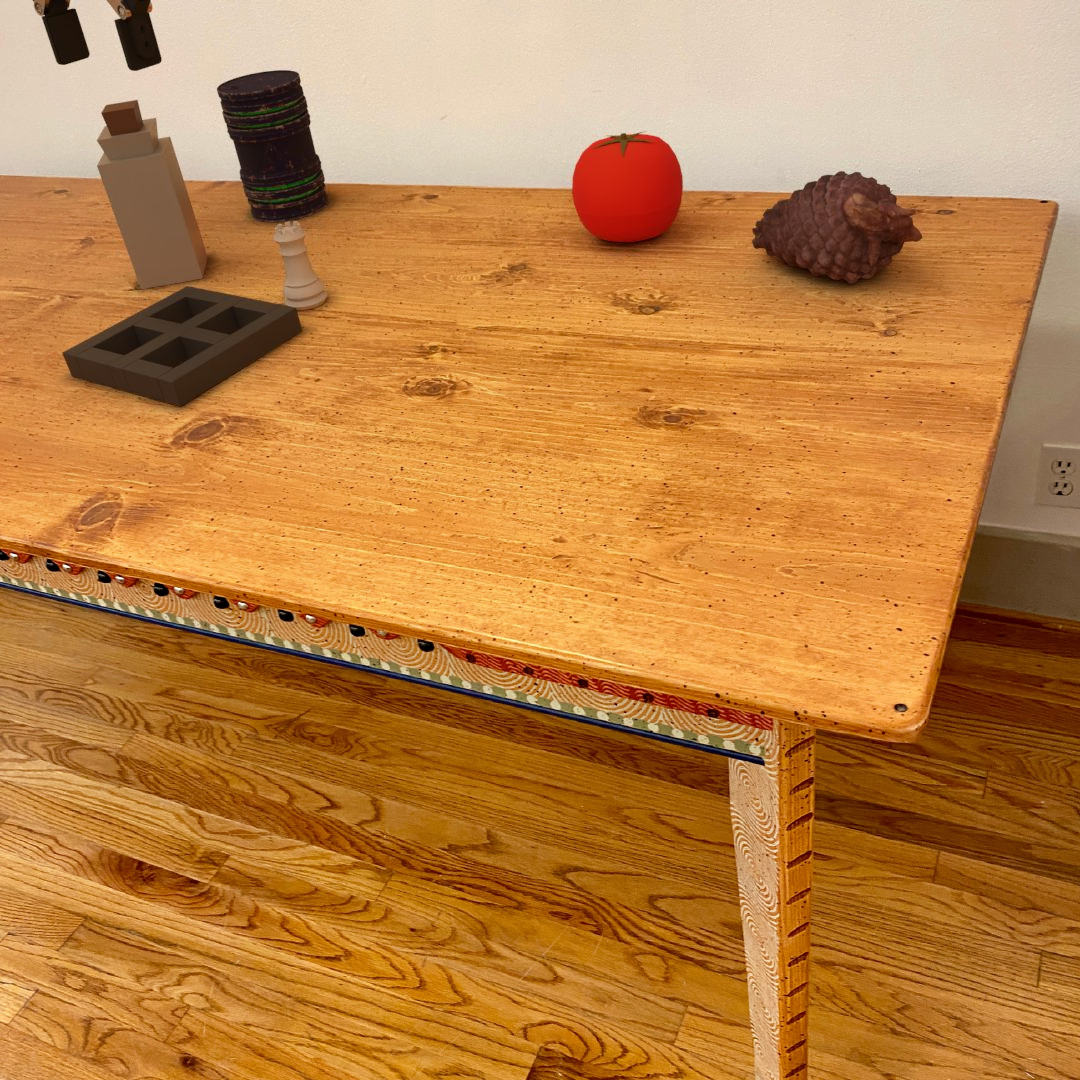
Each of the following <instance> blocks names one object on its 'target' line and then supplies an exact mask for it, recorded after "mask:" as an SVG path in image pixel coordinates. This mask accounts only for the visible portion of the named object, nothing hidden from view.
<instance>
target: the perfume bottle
mask: <svg viewBox="0 0 1080 1080" xmlns="http://www.w3.org/2000/svg"><path fill="white" fill-rule="evenodd" d="M100 114H101V116H102V118H103V121H104V123H105V126H104V127H103V129H102V131H101V132H100V134H99V136H98V137H97V139H96V142H97V143H98V145H99V146H100V148H101V149H102V152H103V154H102V156H101V157H100V159H99V161H98V163H97V165H96V168H97V171H98V172H99V176H100V179H101V181H102V184H103V187H104V190H105V193H106V194H107V198H108V201H109V204H110V207H111V209H112V212H113V215H114V217H115V220H116V223H117V226H118V229H119V232H120V234H121V237H122V239H123V244H124V245H125V248H126V251H127V255H128V257H129V260H130V263H131V265H132V268H133V271H134V274H135V276H136V280H137V282H138V285H139V287H140V290H147V289H151V288H152V289H153V288H157V287H163V286H168V285H173V284H174V285H175V284H180V283H185V282H190V281H195V280H201V279H204V275H205V270H206V266H207V260H208V253H207V251H206V246H205V243H204V240H203V237H202V234H201V230H200V228H199V224H198V221H197V218H196V215H195V211H194V208H193V205H192V201H191V199H190V196H189V193H188V189H187V187H186V182H185V180H184V177H183V174H182V170H181V167H180V165H179V161H178V157H177V154H176V151H175V147H174V144H173V142H172V138H171V136H164V137H159V133H158V122H157V117H153V118H146V119H143V116H142V112H141V109H140V104H139V100H138V99H134V100H128V101H121V102H117V103H116V102H115V103H110V104H105V106H104V108H103V109H102V111H101V112H100Z"/></svg>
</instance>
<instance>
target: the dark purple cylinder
mask: <svg viewBox="0 0 1080 1080" xmlns="http://www.w3.org/2000/svg"><path fill="white" fill-rule="evenodd" d="M301 82H302V81H301V77H300V73H299V72H297V71H295V70H287V69H278V70H276V69H275V70H268V71H260V72H254V73H249V74H245V75H241V76H238V77H234V78H232V79H229V80H227V81H224V82H222V83H220V84H219V85H218V86H217V87H216V92H217V95H218V97H219V99H220V106H221V109H222V116H223V117H222V118H223V120H224V123H225V124H226V129H227V131H226V132H227V134H228V137H229V138H230V140H232V141H233V145H234V149H235V152H236V157H237V160H238V163H239V166H240V169H239V179H240V180H241V183H242V188H243V192H244V195H245V197H246V198H247V202H248V205H249V206H250V213H251V216H252V219H254V220H256V221H259V222H264V223H281V222H289V221H295V220H299V219H302V218H305V217H309V216H311V215H314V214H316V213H318V212H320V211H322V210H324V209H325V208H326V207H327V206H328V205H329V202H330V199H329V196H328V193H327V192H326V189H327V188H326V184H325V181H326V178H325V174H324V170H323V168H322V161H321V158H320V156H319V154H317V153H316V150H315V149H316V148H315V144H314V140H313V136H312V132H311V127H310V125H311V123H312V122H311V115H310V113H309V109H308V107H309V106H308V101H307V97H306V96H305V95H304V93H305V92H304V88H303V86H302V85H301Z"/></svg>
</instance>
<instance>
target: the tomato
mask: <svg viewBox="0 0 1080 1080" xmlns="http://www.w3.org/2000/svg"><path fill="white" fill-rule="evenodd" d="M645 132H646V133H647V130H644V131H641V132H635V133H630V134H628V133H626V132H621V133H620V134H617V135H610V136H607V137H604V138H601V139H598V140H596V141H593V142H591V144H589V146H588V147H587V148H585V149H584V150H583V151H582V153H581V154H580V155H579V158H578V159H577V162H576V164H575V166H574V170H573V174H572V182H571V183H572V184H571V185H572V186H571V196H572V200H573V205H574V208H575V211H576V214H577V216H578V218H579V220H580V222H581V223H582V224H583V226H584V227H585V229H586V230H587V231H588V232H589V233H590V234H591V235H593V237H596V238H597V239H601V240H603V241H608V242H615V243H634V242H641V241H646V240H650V239H652V238H656V237H658V236H661V235H662V234H663V233H665V232H666V231H667V230H668V229H669V228H670V227H672V225H673V223H674V222H675V220H676V219H677V217H678V214H679V211H680V208H681V204H682V198H683V190H684V183H683V178H684V177H683V172H682V168H681V164H680V162H679V159H678V156H677V155H676V153H675V152H674V150H673V149H672V147H671V146H670V144H669V143H668V142H666V141H665V140H664V139H662V138H661V137H659V136H657V135H652V134H645Z"/></svg>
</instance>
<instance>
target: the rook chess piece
mask: <svg viewBox="0 0 1080 1080" xmlns="http://www.w3.org/2000/svg"><path fill="white" fill-rule="evenodd" d="M284 224H285V226H283V224H282V223H278V224H276V226H275V227H274V232H275V233H274V235H273V237H272V240H273V241H274V242H275V243H276V244H277V245H278V246H279V248H280V250H279V252H278V253H279V255H281V256H282V260H283V264H284V274H285V280H283V283H284V285H283V286H282V296H283V297H285V299H284V305H286V306H291V307H296V309H297V311H307V310H312V309H314V308H318V307H319V306H321V305H323V304H325V302H326V300H327V298H328V291H327V290H325V288H326V283H325V281H324V280H322V279H321V278H319V274H317V273H316V272H315V270H314V268H313V266H312V264H311V261H310V258H309V255H308V252H307V251H308V246H307V245H306V244H305V242H304V240H305V237H306V235H307V231H306V230H305V229H304V228H303V227H302V226H301V223H300V222H299V221H296V220H293V221H292V224H291V220H289V221H284Z"/></svg>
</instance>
